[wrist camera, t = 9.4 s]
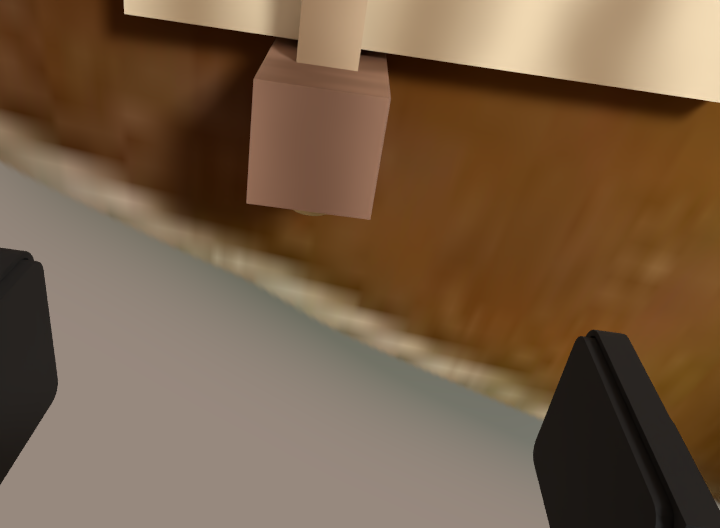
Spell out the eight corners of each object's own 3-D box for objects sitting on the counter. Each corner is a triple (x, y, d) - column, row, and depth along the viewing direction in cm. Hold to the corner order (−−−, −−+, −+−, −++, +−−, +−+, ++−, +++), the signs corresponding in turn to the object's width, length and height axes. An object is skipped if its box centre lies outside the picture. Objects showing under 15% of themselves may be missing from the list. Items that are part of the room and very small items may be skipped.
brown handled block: (431, -238, 20) (454, -277, 15) (366, 169, 27) (366, 241, 21) (300, -262, 19) (276, -310, 14) (268, 156, 26) (245, 225, 21)
